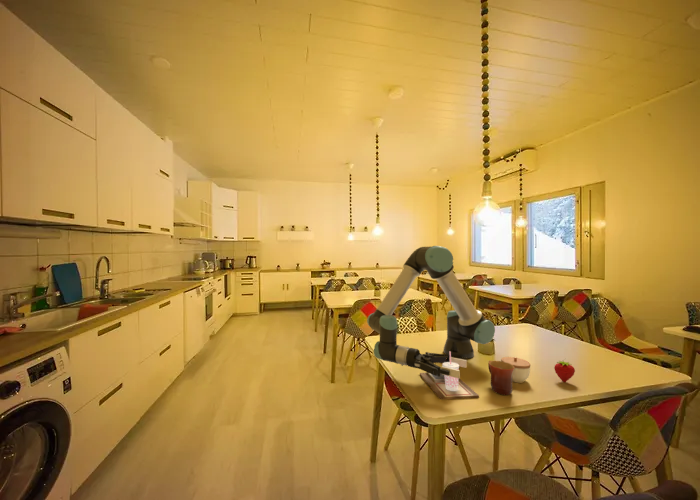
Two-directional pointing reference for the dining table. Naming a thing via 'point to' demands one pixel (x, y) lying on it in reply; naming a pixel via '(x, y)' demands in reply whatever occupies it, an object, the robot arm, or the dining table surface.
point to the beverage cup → (450, 381)
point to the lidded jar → (518, 368)
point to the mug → (501, 377)
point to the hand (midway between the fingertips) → (463, 369)
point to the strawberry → (564, 370)
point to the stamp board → (440, 389)
